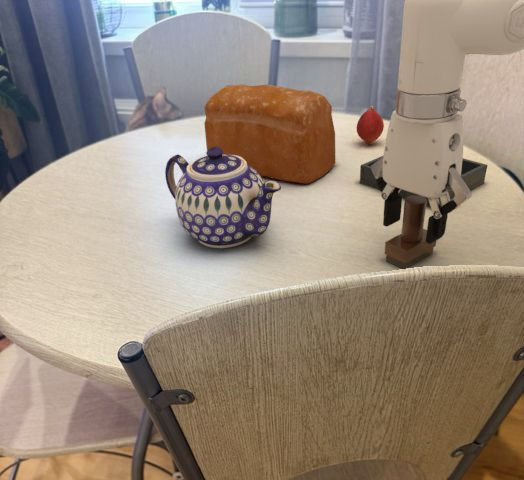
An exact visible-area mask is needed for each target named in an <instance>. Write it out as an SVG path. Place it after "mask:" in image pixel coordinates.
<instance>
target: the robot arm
mask: <svg viewBox="0 0 524 480" xmlns="http://www.w3.org/2000/svg"><path fill="white" fill-rule="evenodd" d="M401 26H402V27H401V37H400V38H401V39H400V52H399V62H398V63H399V65H398V67H399V68H398V75H397V76H398V77H397V89H396V102H395V109H394V110H393V111H392V113H391V116H390V120H389V123H388V128H387V132H386V137H385V142H384V148H383V149H384V150H383V155H384V157H382V158H381V159H380V160H378V161H377V162H375V163H374V164H373V165H372V166H371V170H372V172H373V174H374V176H375V178H376V179H377V180H376V183H377V185H378V187H379V188H380V192H381V193H380V197H381V199H382V200H384V203H383V220H382V225H383V226H384V227H387V228H388V227H389V226H392V225H393V224H395V223H397V222H399V221H400V220H401V217H402V216H401V215H402V207H403V206H402V205H403V198H402V195H400V194H399V192H400V191H401V189H402V190H405V191H408V192H411V193H414V194H417V195H420V196H423V197H427V198H428V199H429V203H430V206H431V207H430V210H431V213H432V215H431V216H429V217H428V220H427V226H426V227H427V228H426V230H427V234H426V242H427V243H429V244H431V243H433V242H435V241H436V242H437V241H438V240H440V239H442V238H443V236H444V235H445V233H446V228H447V221H448V215H449V214H450V213H452V212H453V211H455V210H457V208H459V207H461V206H462V205H463V204H464V203H465V202H466V201H468V200H469V199H470V198H472V196H473V193H472V190H470V189H469V188H468V186H467V185H466V184H465V182H464V181H463V179H462V178H461V170H462V159H463V158H464V142H465V141H464V137H465V136H464V120H463V115H462V114H459V113H458V112H461V113H462V112H464V111H465V109H466V107H467V100H466V99H464V98H462V97H461V92H462V90H461V86H462V80H463V72H464V66H465V61H466V60H465V59H466V56H467V55H490V56H491V55H492V56H505V55H511V54H515V53H518V52H520V51H523V50H524V0H404V4H403V11H402V25H401ZM448 190H453V191H454V193H455V197H454V198H453V199H452V200H450V196H449V193H448ZM439 198H440V201H441V204H442V205H440V202H439Z"/></svg>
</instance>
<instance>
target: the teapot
mask: <svg viewBox="0 0 524 480" xmlns="http://www.w3.org/2000/svg"><path fill="white" fill-rule="evenodd" d="M176 164H177V166H178V167H179V169H180V171H181V173H182V175H181V176H180V178H179V179H178V180H177V184H176V180H175V165H176ZM164 174H165V182H166V185H167V189H168V192H169V193H170V194H171V196H172V198H173V199H174V200H175V209H176V213H177V216H178V220H179V222H180V224H181V226H182V228H183V230H184V232H186V234H188V235H189V236H190V237H191V238H193V239H194V240H196V241H198V242H199V243H200V244H201V245H203V246H205V247H207V248H213V249H227V248H232V247H236V246H240V245H242V244H244V243H246V242H248V241H249V240H250V239H252V238H254V237H256V238H257V237H258V236H261V235H263V234H264V233H265V232H266V231H267V229H268V227H269V225H270V222H271V217H272V204H273V202H272V201H273V197H274V193H277V192H279V191H281V189H282V186H281V184H280V183H279V182H277V181H275V180H267V181H263V178H262V176H260V175H259V174H258V173H257V172H256V170H254V169H253V168H251V167H250V166H248V165H247V162H246V161H245V160H244V159H243V158H242V157H240V156H236V155H227V154H223V150H222V149H221V148H220V147H212V148H210V149H208V151H207V150H206V155H205V156H202V157H200V158H198V159H195V160H193V161H191V162H190V163H189V162H188V161H187V159H185V158H184V157H183V156H182V155H180V154H174V155H172V156H171V157H169V159H168V160H167V161H166V165H165V170H164Z"/></svg>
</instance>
